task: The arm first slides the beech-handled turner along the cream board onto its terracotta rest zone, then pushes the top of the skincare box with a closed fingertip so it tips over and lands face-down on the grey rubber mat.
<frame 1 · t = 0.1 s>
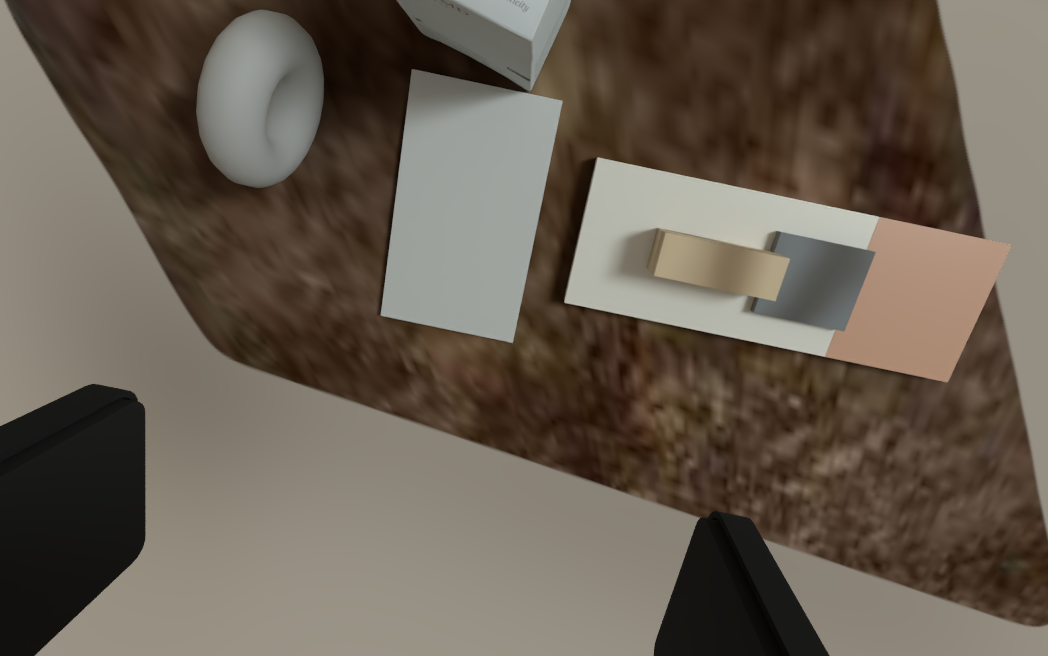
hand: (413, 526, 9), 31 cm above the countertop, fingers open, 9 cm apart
mat: (466, 214, 38), on the countertop
turner: (709, 259, 37), point 1 cm above the countertop, touching board
board: (773, 271, 38), on the countertop
donut: (305, 112, 37), on the countertop
skincare box: (499, 19, 35), on the countertop
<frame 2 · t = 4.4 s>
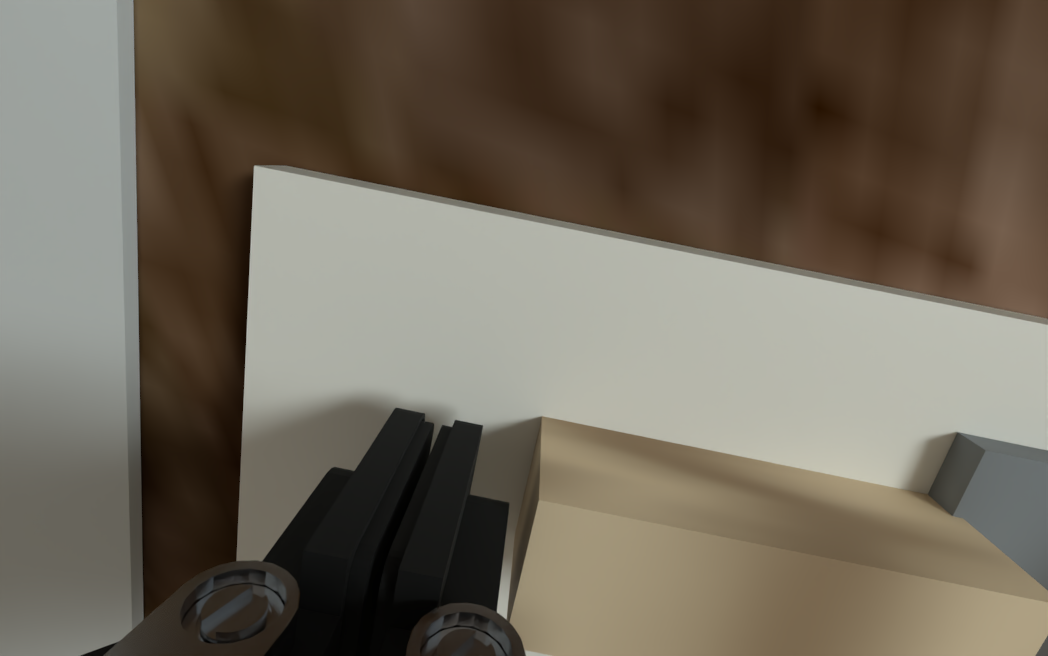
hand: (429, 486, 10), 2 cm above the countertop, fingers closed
turner: (719, 515, 11), point 1 cm above the countertop, touching board, gripper
board: (881, 514, 12), on the countertop
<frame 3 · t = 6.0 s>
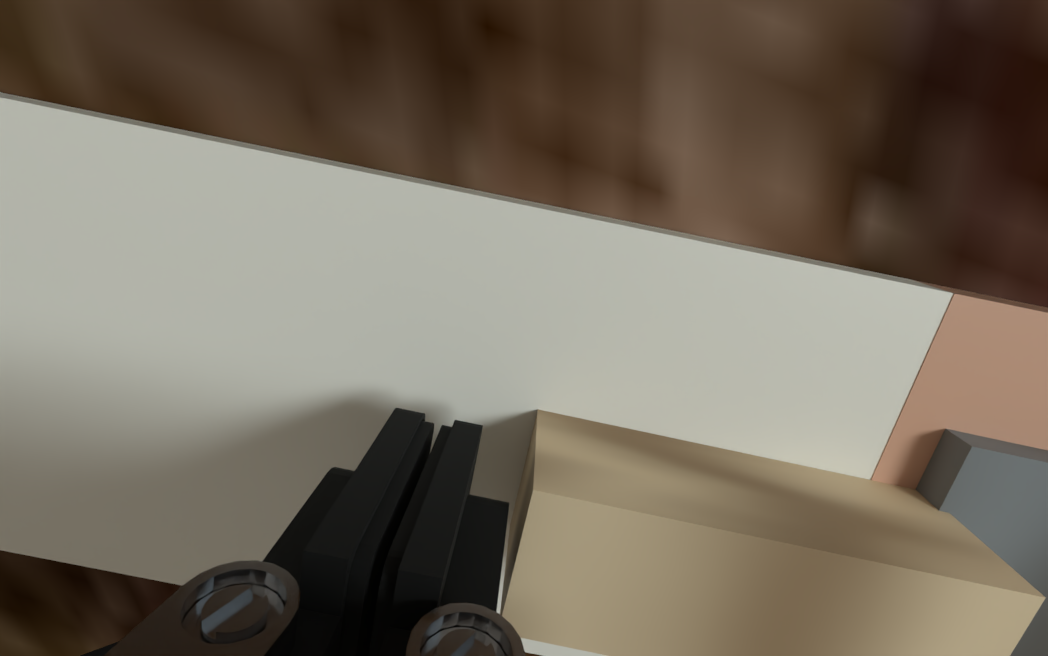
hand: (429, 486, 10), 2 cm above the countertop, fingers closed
turner: (711, 508, 11), point 1 cm above the countertop, touching board, gripper
board: (609, 447, 12), on the countertop
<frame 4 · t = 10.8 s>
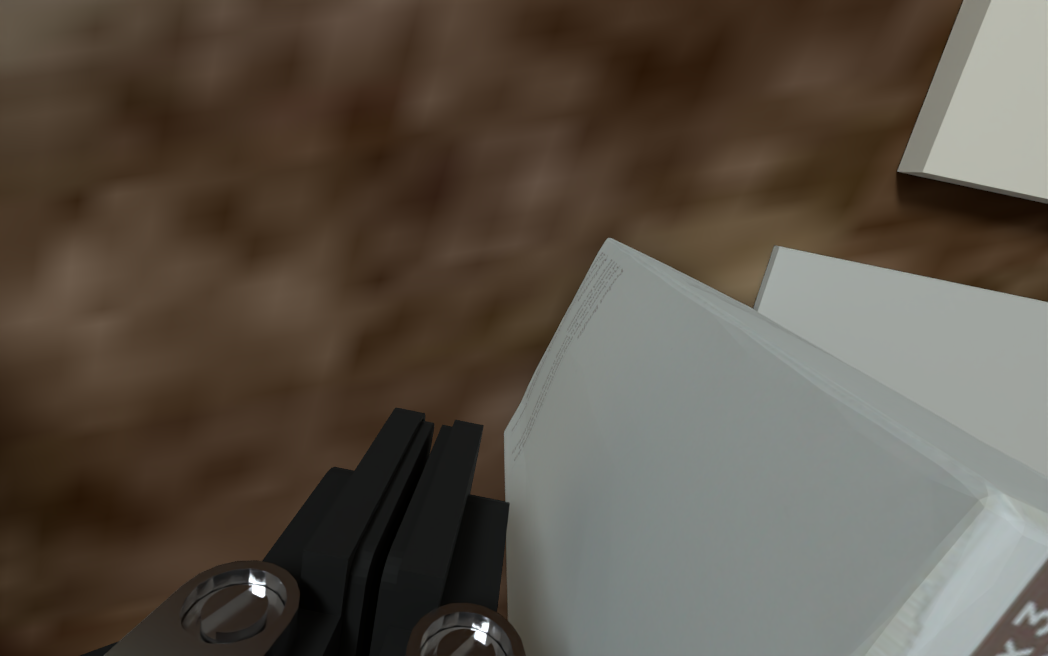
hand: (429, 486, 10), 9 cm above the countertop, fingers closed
mat: (955, 427, 20), on the countertop
skincare box: (619, 360, 19), on the countertop
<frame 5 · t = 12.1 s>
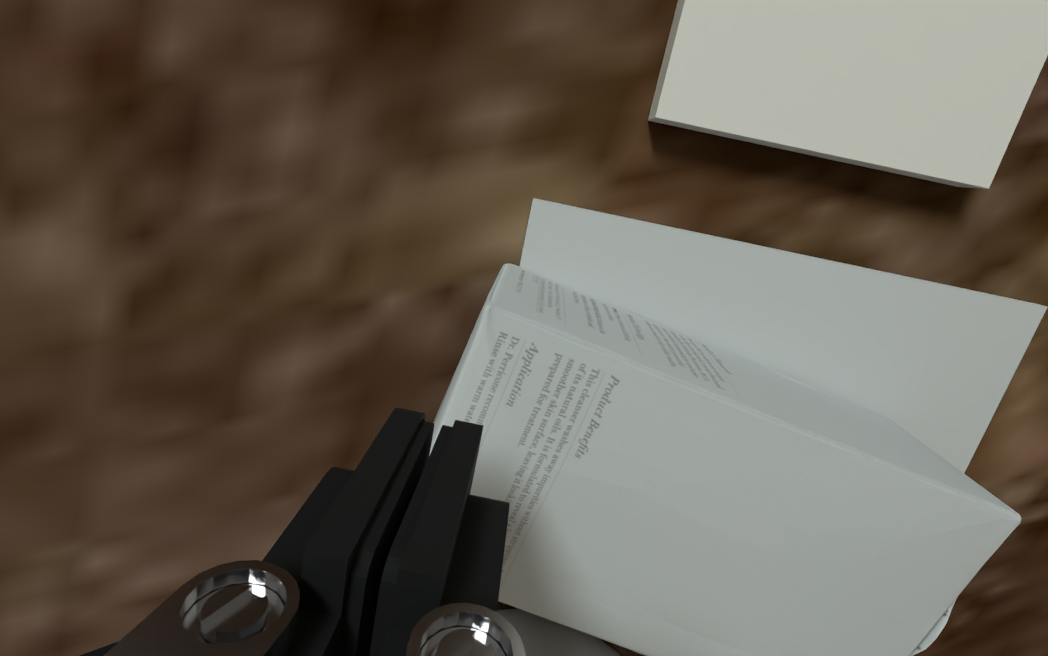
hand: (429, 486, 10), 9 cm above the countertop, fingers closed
mat: (739, 389, 19), on the countertop
donut: (544, 623, 23), on the countertop
skincare box: (439, 388, 16), point 3 cm above the countertop, touching mat
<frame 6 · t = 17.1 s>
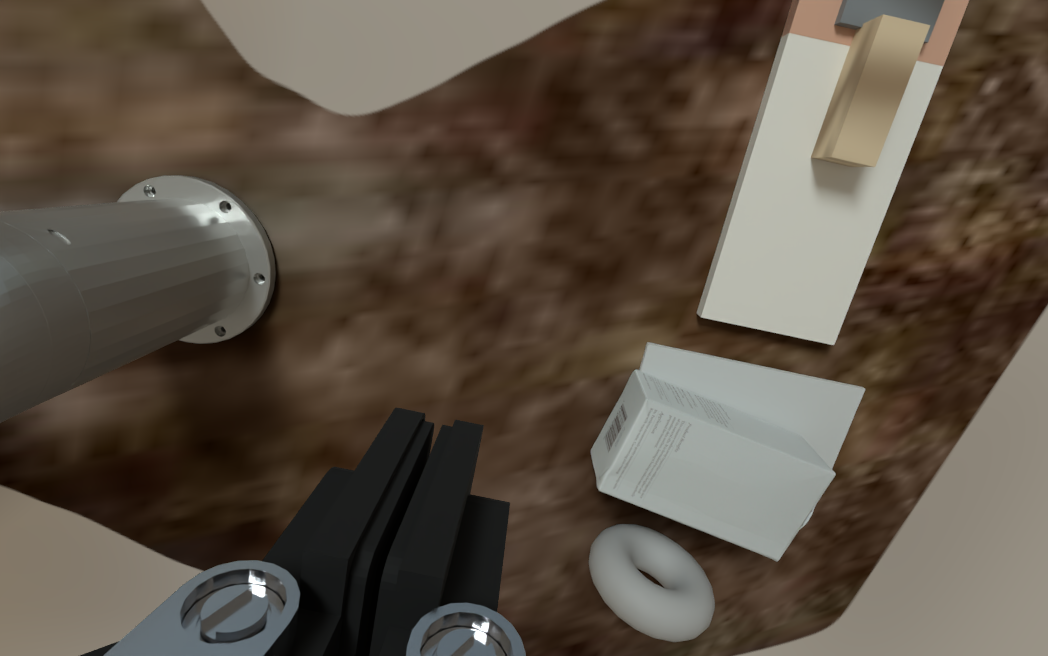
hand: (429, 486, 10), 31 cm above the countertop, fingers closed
mat: (734, 422, 43), on the countertop
turner: (854, 99, 35), point 1 cm above the countertop, touching board
board: (828, 133, 37), on the countertop
donut: (639, 534, 47), on the countertop
skincare box: (613, 424, 40), point 3 cm above the countertop, touching mat
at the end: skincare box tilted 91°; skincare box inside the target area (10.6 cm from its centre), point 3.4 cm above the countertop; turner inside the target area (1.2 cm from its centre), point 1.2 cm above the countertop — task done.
